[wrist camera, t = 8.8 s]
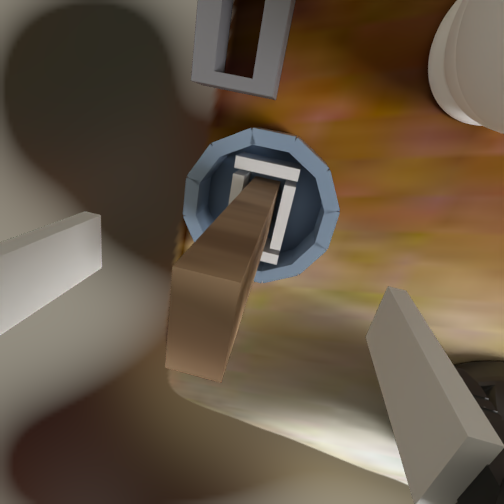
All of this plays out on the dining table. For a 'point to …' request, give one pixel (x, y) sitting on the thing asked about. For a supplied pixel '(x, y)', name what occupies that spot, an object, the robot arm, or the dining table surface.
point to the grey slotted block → (216, 41)
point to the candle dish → (288, 200)
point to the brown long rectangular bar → (218, 283)
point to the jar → (470, 63)
